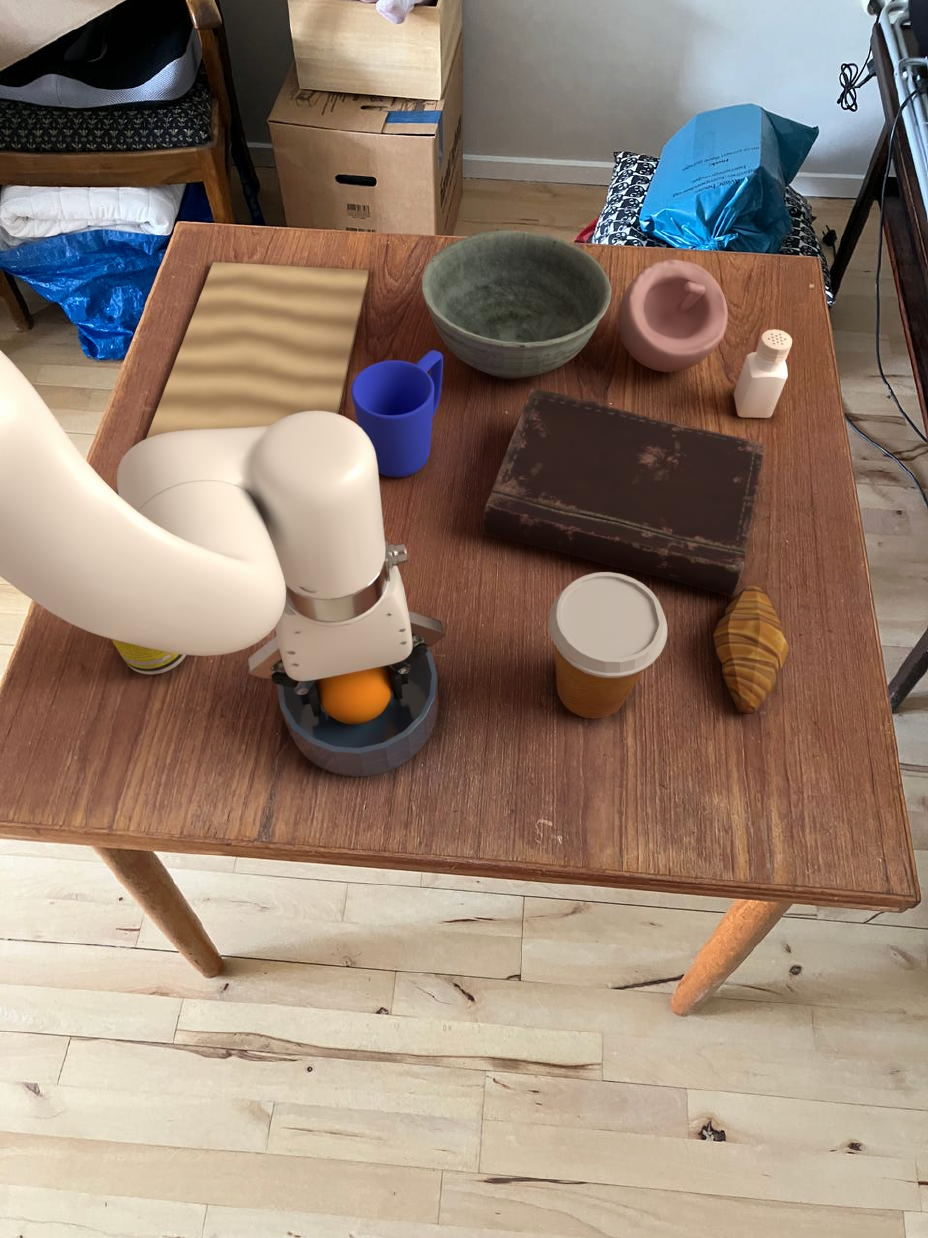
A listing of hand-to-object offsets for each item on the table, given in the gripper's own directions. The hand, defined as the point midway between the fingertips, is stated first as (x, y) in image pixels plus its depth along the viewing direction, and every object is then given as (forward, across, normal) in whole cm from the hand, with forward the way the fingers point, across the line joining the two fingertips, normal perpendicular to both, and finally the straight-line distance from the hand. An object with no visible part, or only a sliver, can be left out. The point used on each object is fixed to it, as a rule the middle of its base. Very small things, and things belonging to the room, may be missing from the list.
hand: (355, 692), depth 76 cm
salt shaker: (+3, -50, -27) cm, 57 cm away
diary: (+3, -31, -17) cm, 35 cm away
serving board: (+3, +4, -45) cm, 45 cm away
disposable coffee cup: (+3, -21, +3) cm, 21 cm away
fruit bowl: (+3, 0, 0) cm, 3 cm away
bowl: (+3, -26, -42) cm, 50 cm away
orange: (-1, 0, 0) cm, 1 cm away
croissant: (+3, -36, +3) cm, 36 cm away
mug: (+3, -11, -30) cm, 32 cm away
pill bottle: (+3, +17, -11) cm, 20 cm away
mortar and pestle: (+3, -43, -37) cm, 57 cm away
